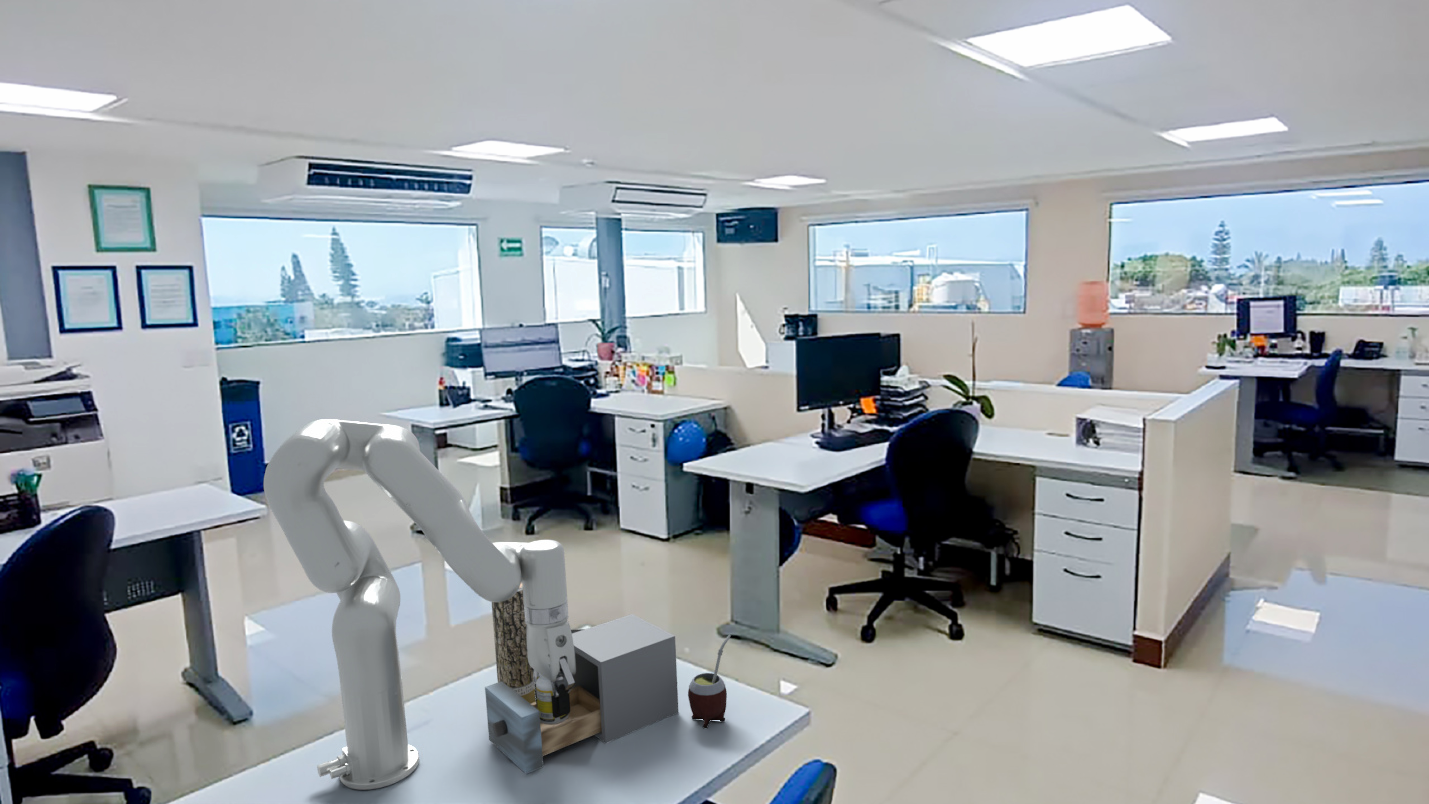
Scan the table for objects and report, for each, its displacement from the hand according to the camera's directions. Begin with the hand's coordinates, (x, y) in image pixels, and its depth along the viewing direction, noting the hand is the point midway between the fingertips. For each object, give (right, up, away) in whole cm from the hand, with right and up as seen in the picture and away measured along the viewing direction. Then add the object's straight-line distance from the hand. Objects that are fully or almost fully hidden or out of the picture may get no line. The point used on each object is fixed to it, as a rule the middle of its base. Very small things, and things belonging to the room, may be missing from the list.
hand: (553, 707), depth 152 cm
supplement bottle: (0, -2, 0) cm, 2 cm away
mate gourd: (+28, -5, +6) cm, 29 cm away
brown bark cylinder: (-9, -5, +13) cm, 16 cm away
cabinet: (+11, -4, +10) cm, 15 cm away
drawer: (-1, -6, 0) cm, 6 cm away
